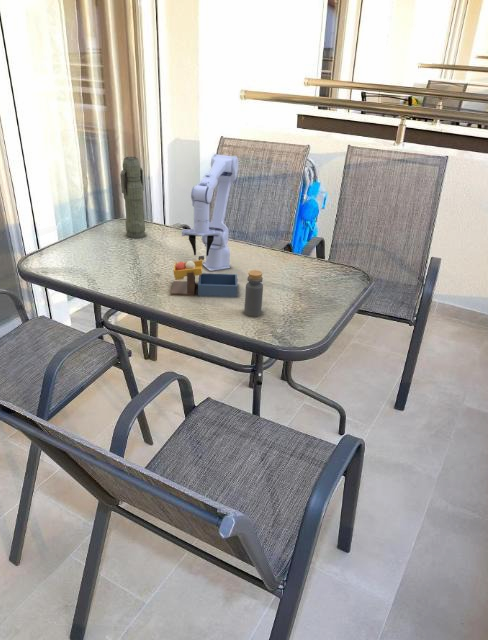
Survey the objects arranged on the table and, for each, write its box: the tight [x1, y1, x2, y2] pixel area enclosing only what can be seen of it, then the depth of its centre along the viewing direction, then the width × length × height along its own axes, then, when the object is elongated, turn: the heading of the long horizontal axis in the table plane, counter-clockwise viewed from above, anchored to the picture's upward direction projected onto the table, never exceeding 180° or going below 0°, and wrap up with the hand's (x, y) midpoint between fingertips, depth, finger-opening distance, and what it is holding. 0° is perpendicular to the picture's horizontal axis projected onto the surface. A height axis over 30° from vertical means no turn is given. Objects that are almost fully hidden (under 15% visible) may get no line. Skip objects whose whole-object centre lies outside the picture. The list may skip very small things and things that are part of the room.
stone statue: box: [119, 156, 146, 239], centre depth 232 cm, size 9×12×35 cm
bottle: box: [244, 269, 264, 317], centre depth 172 cm, size 6×6×15 cm
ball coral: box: [176, 261, 186, 270], centre depth 186 cm, size 4×4×4 cm
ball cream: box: [185, 260, 195, 269], centre depth 186 cm, size 4×4×4 cm
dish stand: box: [170, 272, 196, 297], centre depth 188 cm, size 8×11×9 cm
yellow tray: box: [172, 255, 205, 281], centre depth 189 cm, size 10×15×4 cm
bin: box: [197, 272, 239, 298], centre depth 190 cm, size 14×11×4 cm
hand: (201, 254), depth 193 cm, fingers open, 4 cm apart
